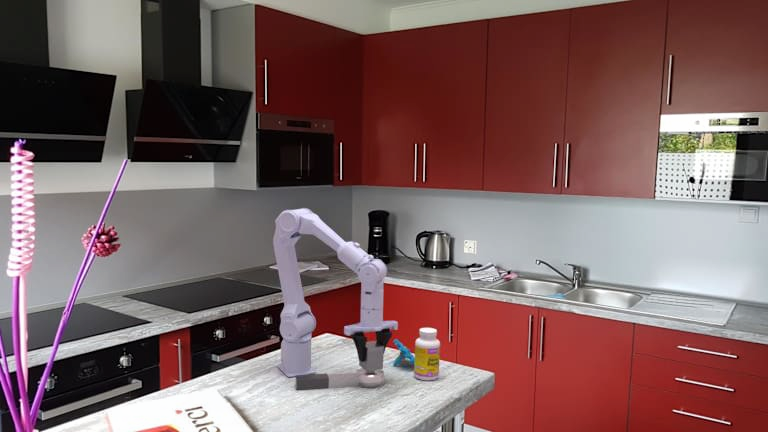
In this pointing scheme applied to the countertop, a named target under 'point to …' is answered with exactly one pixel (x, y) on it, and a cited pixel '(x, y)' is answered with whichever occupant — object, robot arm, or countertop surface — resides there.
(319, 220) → the robot arm
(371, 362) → the brushed metal cube
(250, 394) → the countertop surface
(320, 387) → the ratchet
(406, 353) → the blue branched piece
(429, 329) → the supplement bottle
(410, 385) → the countertop surface
